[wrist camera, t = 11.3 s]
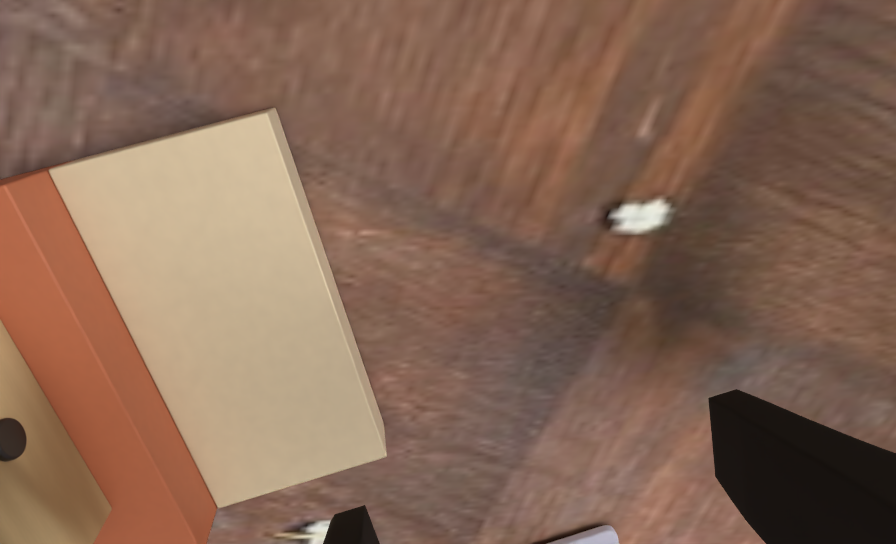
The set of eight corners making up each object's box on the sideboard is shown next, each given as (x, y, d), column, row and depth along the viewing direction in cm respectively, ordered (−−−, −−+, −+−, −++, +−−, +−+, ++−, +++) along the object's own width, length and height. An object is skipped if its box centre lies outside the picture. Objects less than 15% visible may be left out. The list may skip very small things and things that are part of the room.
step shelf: (384, 424, 22) (395, 546, 16) (-99, 570, 21) (-264, 755, 15) (275, 106, 18) (240, 125, 12) (-342, 269, 16) (-695, 374, 11)
